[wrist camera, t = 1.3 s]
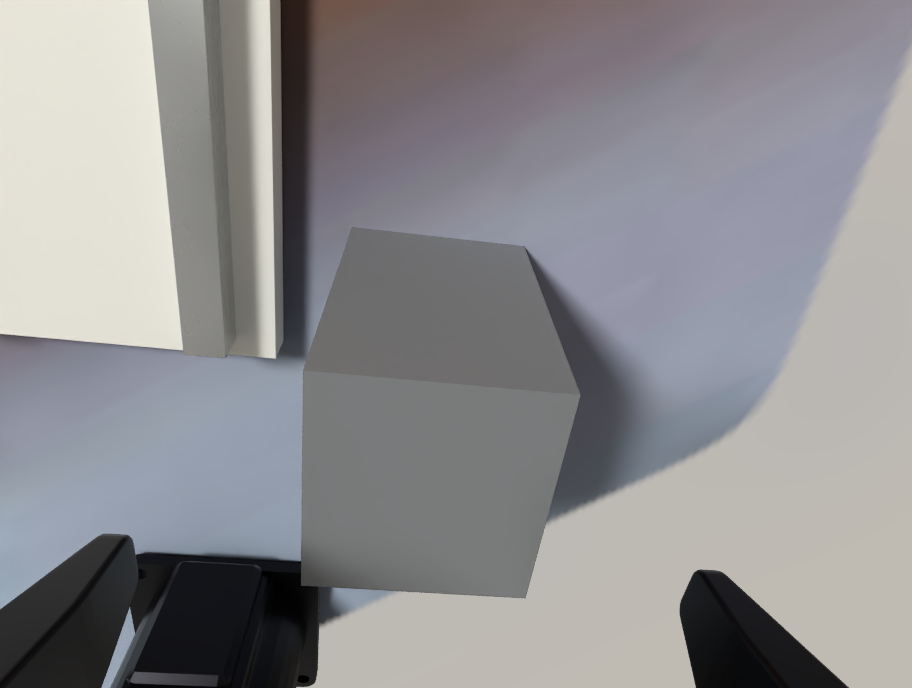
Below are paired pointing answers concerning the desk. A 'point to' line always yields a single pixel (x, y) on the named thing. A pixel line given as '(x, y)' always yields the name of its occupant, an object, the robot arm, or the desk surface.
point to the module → (431, 419)
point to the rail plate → (142, 173)
